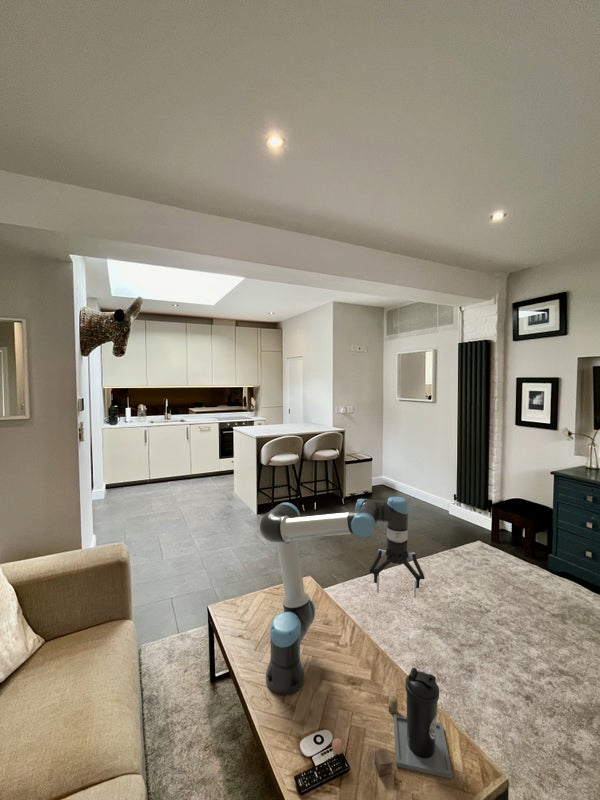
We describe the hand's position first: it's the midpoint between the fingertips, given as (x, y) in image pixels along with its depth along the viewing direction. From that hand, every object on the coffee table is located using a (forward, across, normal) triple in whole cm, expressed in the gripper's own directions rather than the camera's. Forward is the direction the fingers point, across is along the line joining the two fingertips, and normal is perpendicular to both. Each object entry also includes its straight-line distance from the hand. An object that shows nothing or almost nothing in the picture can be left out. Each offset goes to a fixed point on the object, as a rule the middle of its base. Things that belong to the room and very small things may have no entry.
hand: (395, 593), depth 133 cm
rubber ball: (+37, -19, -29) cm, 50 cm away
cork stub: (+37, -1, -11) cm, 38 cm away
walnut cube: (+37, -5, -31) cm, 48 cm away
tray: (+37, +7, -22) cm, 43 cm away
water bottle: (+36, +7, -22) cm, 43 cm away
